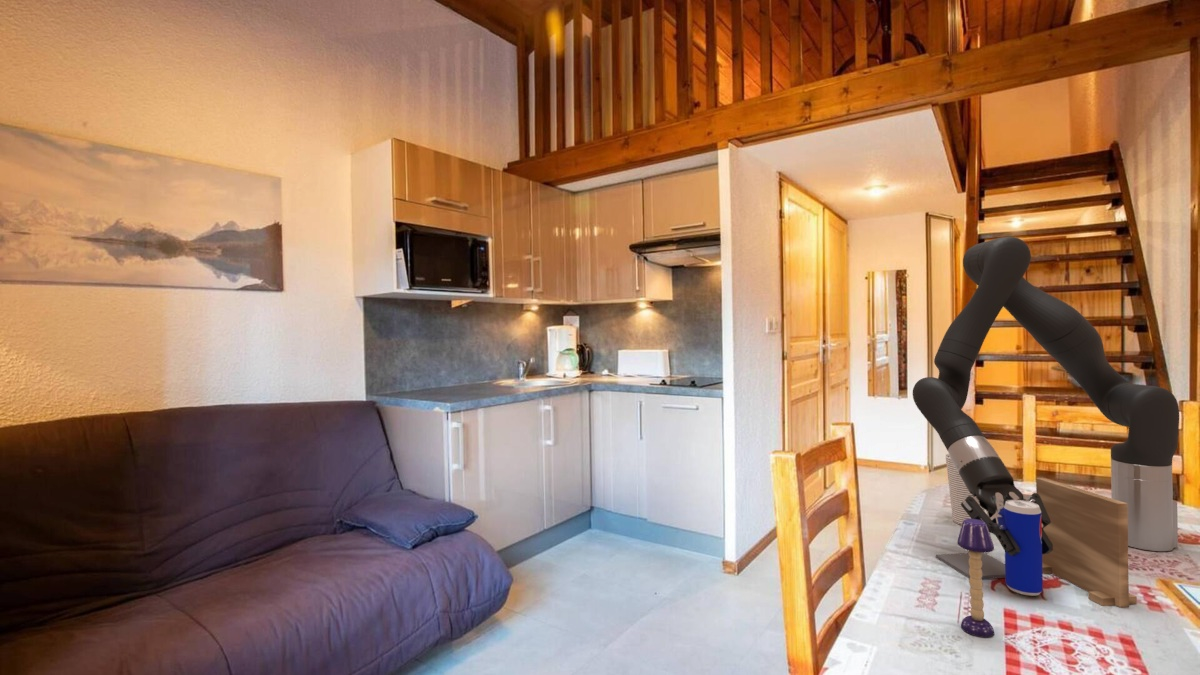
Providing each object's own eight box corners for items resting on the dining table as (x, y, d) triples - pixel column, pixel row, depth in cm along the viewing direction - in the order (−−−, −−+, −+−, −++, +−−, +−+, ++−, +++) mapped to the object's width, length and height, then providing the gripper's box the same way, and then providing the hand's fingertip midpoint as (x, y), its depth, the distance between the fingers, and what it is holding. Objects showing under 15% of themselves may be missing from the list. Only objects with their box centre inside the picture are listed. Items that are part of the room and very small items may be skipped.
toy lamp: (951, 622, 88) (949, 516, 87) (979, 620, 88) (977, 515, 88) (974, 639, 83) (972, 527, 83) (1004, 636, 83) (1002, 525, 83)
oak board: (1056, 565, 107) (1055, 477, 107) (1141, 606, 91) (1140, 502, 91) (1026, 566, 107) (1025, 478, 106) (1106, 608, 91) (1105, 504, 91)
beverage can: (1049, 597, 93) (1048, 509, 93) (1014, 595, 94) (1013, 508, 94) (1032, 583, 98) (1030, 499, 98) (999, 581, 100) (998, 498, 99)
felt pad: (983, 555, 112) (983, 552, 112) (1023, 576, 102) (1023, 573, 102) (935, 557, 112) (935, 554, 112) (971, 579, 102) (971, 576, 102)
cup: (950, 526, 129) (949, 459, 128) (943, 515, 136) (942, 452, 136) (994, 530, 125) (993, 462, 125) (984, 518, 133) (983, 454, 133)
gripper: (951, 456, 103) (1003, 546, 91) (1026, 453, 104) (1086, 541, 92) (934, 477, 109) (980, 564, 97) (1004, 474, 109) (1059, 559, 98)
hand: (1031, 552), depth 95 cm, fingers closed on beverage can, 5 cm apart
